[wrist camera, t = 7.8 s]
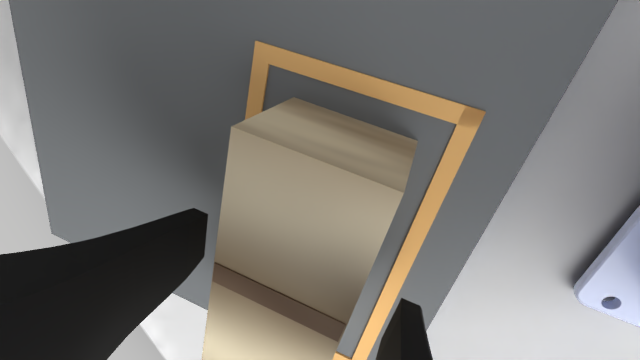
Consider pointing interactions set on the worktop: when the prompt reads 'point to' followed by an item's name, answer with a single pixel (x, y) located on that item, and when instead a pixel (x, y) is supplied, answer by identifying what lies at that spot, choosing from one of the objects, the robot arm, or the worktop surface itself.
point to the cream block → (299, 230)
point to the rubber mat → (308, 85)
